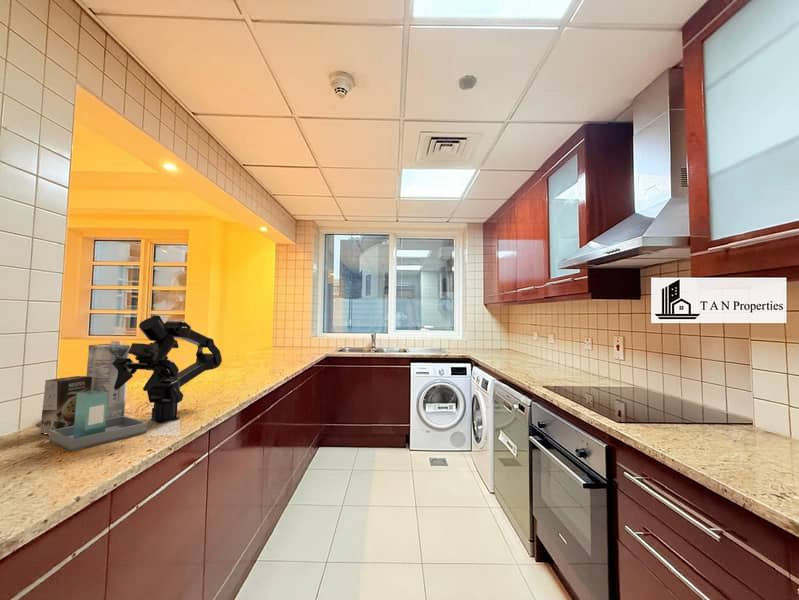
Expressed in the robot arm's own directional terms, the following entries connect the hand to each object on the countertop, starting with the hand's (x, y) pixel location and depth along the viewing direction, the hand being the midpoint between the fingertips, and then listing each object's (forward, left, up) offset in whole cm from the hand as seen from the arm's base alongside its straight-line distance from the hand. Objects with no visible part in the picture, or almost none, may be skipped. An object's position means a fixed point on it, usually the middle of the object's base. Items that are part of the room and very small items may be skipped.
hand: (129, 389), depth 105 cm
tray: (+5, -5, -14) cm, 15 cm away
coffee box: (+8, -20, -14) cm, 25 cm away
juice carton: (-3, -23, -14) cm, 27 cm away
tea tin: (+8, -4, -13) cm, 15 cm away
